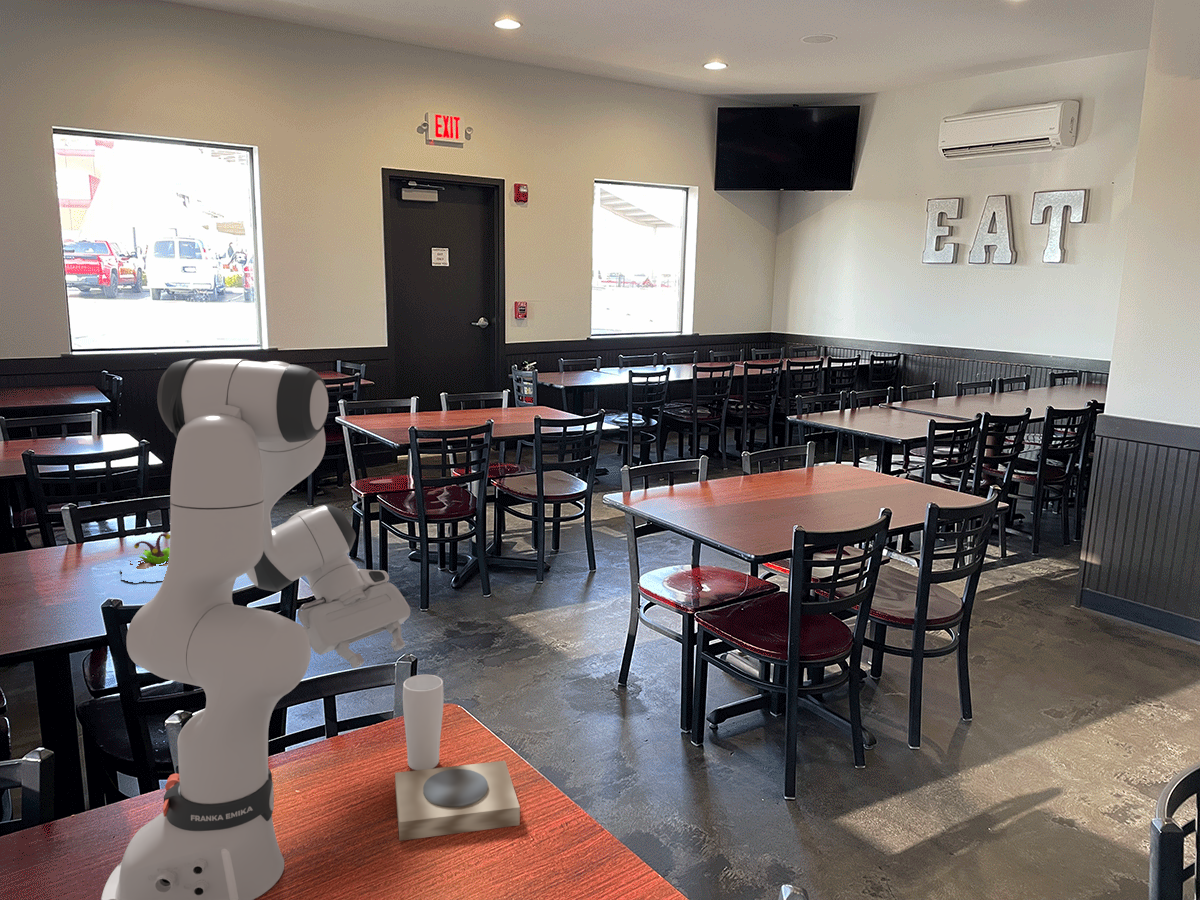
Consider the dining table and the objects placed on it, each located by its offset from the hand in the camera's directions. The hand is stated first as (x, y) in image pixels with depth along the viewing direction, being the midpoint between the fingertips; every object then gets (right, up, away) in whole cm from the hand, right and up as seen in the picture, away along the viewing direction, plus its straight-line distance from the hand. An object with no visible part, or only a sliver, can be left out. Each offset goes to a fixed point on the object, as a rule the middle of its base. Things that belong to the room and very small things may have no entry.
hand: (380, 656), depth 154 cm
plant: (-86, +1, +94) cm, 128 cm away
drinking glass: (+8, -18, -3) cm, 20 cm away
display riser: (+16, -20, -15) cm, 30 cm away
